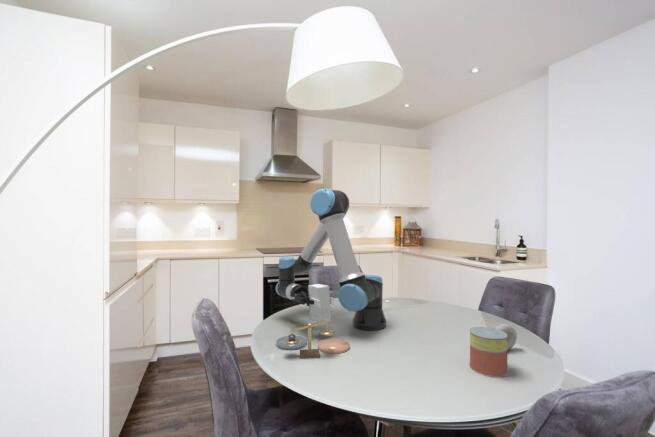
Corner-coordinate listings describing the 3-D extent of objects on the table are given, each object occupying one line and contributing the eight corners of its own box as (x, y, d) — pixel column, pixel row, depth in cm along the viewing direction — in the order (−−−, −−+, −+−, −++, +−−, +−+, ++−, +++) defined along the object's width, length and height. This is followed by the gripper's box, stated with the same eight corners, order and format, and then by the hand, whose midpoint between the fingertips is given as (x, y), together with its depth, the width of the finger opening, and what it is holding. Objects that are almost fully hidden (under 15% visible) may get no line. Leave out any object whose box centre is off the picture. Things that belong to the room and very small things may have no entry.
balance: (333, 351, 123) (333, 318, 123) (334, 357, 118) (335, 322, 118) (284, 353, 121) (285, 319, 121) (284, 359, 116) (284, 323, 116)
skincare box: (331, 322, 136) (330, 285, 136) (318, 324, 133) (318, 287, 133) (320, 317, 143) (320, 282, 143) (308, 319, 140) (307, 284, 140)
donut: (496, 353, 122) (496, 326, 122) (489, 349, 125) (490, 323, 125) (519, 350, 125) (519, 323, 125) (511, 347, 128) (511, 321, 128)
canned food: (516, 374, 106) (516, 336, 106) (486, 379, 103) (487, 340, 102) (489, 359, 117) (489, 325, 116) (462, 363, 113) (462, 328, 113)
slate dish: (306, 337, 137) (306, 335, 137) (307, 349, 125) (307, 346, 125) (276, 338, 136) (276, 335, 136) (275, 350, 124) (275, 347, 124)
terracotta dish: (346, 340, 134) (346, 338, 134) (351, 353, 122) (351, 349, 122) (316, 341, 132) (316, 338, 132) (319, 354, 121) (319, 351, 121)
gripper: (314, 298, 158) (345, 308, 139) (278, 304, 147) (306, 316, 128) (314, 282, 158) (344, 290, 139) (278, 287, 147) (306, 296, 128)
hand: (326, 302), depth 134 cm, fingers closed on skincare box, 6 cm apart
